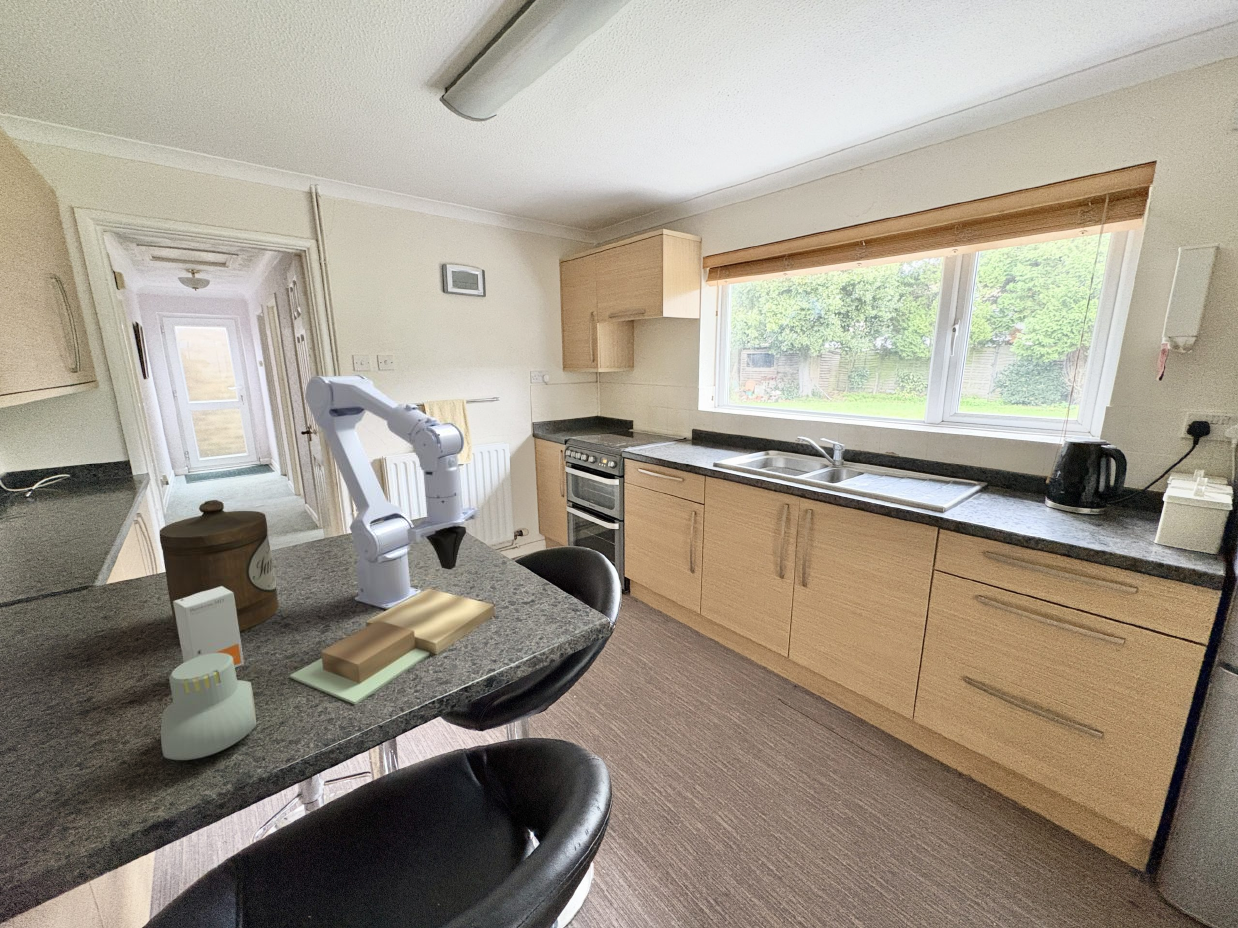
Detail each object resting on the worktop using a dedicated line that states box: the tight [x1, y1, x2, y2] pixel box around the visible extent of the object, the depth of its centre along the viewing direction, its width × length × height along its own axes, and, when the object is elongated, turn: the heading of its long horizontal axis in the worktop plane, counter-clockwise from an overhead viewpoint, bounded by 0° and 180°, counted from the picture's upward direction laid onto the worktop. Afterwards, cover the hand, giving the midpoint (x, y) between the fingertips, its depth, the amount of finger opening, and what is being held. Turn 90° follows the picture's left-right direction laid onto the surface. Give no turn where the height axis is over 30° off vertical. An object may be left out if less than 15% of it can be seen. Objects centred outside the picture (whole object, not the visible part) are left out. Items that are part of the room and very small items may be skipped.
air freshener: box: [160, 653, 257, 761], centre depth 60 cm, size 11×8×10 cm
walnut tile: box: [320, 620, 416, 683], centre depth 76 cm, size 8×10×3 cm
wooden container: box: [159, 499, 279, 636], centre depth 88 cm, size 15×15×22 cm
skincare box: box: [173, 586, 245, 669], centre depth 74 cm, size 6×4×12 cm
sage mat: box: [289, 648, 431, 706], centre depth 75 cm, size 14×13×1 cm
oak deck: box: [365, 588, 496, 656], centre depth 88 cm, size 16×14×2 cm
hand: (448, 567), depth 89 cm, fingers closed
